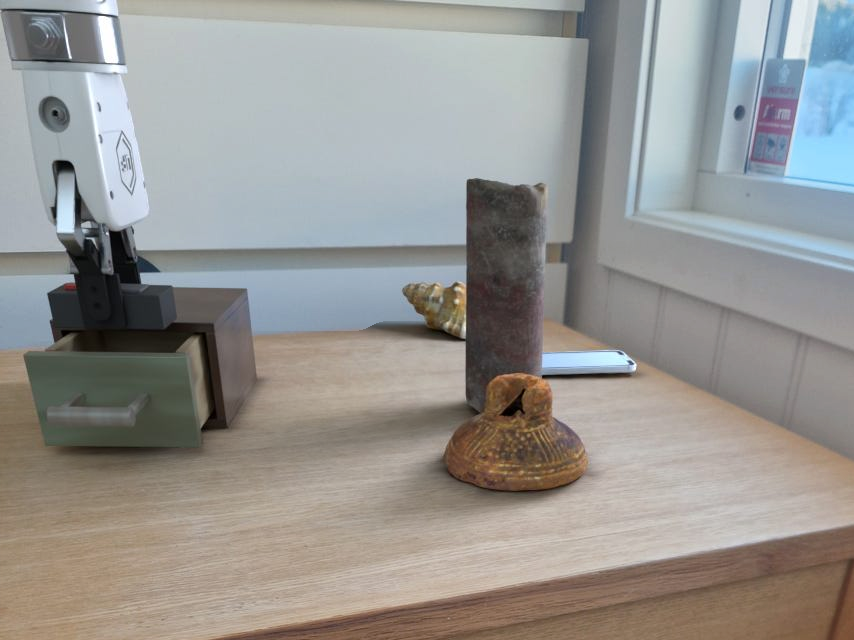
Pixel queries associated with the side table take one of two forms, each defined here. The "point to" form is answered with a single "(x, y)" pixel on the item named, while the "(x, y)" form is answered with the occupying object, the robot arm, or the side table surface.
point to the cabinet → (213, 342)
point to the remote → (141, 303)
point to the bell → (516, 440)
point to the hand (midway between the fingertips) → (116, 318)
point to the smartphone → (586, 362)
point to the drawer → (123, 389)
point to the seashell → (440, 305)
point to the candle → (503, 282)
